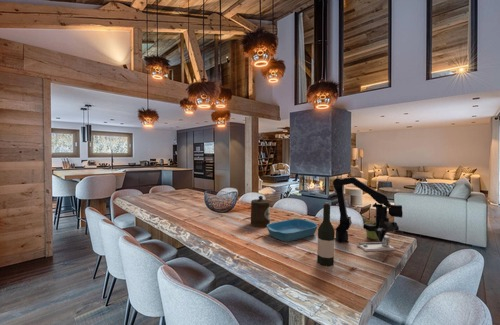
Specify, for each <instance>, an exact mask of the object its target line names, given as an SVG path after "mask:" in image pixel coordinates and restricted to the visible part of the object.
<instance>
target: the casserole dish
mask: <svg viewBox="0 0 500 325" xmlns="http://www.w3.org/2000/svg"><path fill="white" fill-rule="evenodd" d="M266 228H267V231H268V234H269V235H270V236H271V237H273V238H274V239H276V240H278V241H282V242H293V241H296V240H301V239H305V238H308V237H311V236H313V235H314V234H316V231H317V230H318V224H317V223H315V222H314V221H312V220H309V219H302V218H291V219H287V220H280V221H276V222H270V224H268V225H267V227H266Z"/></svg>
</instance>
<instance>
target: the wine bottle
mask: <svg viewBox="0 0 500 325" xmlns="http://www.w3.org/2000/svg"><path fill="white" fill-rule="evenodd" d="M322 215H323V216H322V219H323V220H322V222H321V223H320V225H319V227H317V249H316V250H317V256H316V262H317V264H318V265H319V266H323V267H328V268H329V267H333V266H334V265H335V262H334V261H335V239H334V238H335V234H336V228H334V226H333V224H332V222H331V204H330V202H324V204H323V210H322Z"/></svg>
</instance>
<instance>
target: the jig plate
mask: <svg viewBox="0 0 500 325" xmlns="http://www.w3.org/2000/svg"><path fill="white" fill-rule="evenodd" d="M356 245H357V247H358V248H360V249H361V250H363V251H364V252H379V251H383V252H384V251H395V250H396V247H393V245H390V246H384V245H382V244H381V242H380V241H371V242H370V241H369V242H358V243H357V244H356Z"/></svg>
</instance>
